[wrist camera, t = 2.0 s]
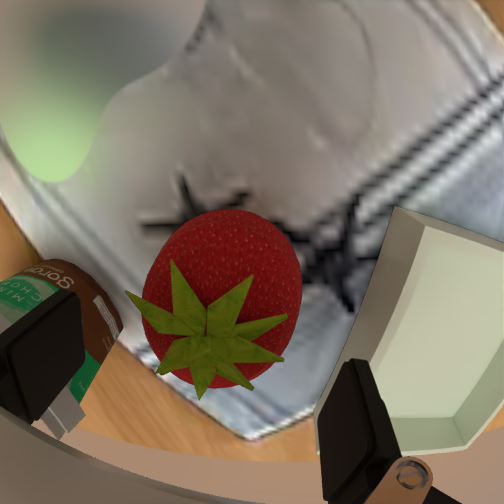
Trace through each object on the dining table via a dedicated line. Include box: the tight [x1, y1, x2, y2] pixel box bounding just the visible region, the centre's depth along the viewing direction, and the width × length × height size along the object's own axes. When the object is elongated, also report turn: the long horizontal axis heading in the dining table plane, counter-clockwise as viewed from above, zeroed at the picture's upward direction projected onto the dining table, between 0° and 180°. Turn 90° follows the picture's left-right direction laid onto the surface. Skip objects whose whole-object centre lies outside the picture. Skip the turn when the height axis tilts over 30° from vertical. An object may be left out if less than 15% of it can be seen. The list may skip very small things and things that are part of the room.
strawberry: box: [125, 209, 302, 400], centre depth 12 cm, size 6×8×10 cm
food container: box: [0, 259, 123, 440], centre depth 14 cm, size 12×6×10 cm, turn 93°
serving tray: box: [314, 206, 504, 456], centre depth 16 cm, size 15×13×4 cm
